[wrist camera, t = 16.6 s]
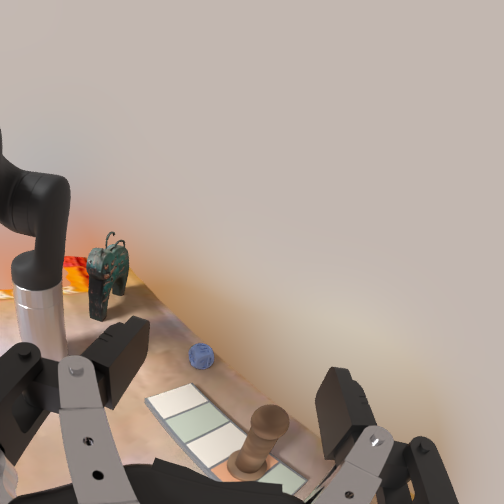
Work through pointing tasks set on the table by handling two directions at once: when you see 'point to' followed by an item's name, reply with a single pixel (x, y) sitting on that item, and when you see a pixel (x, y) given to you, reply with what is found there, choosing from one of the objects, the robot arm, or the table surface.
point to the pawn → (258, 443)
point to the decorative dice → (201, 356)
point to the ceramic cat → (106, 276)
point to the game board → (211, 436)
